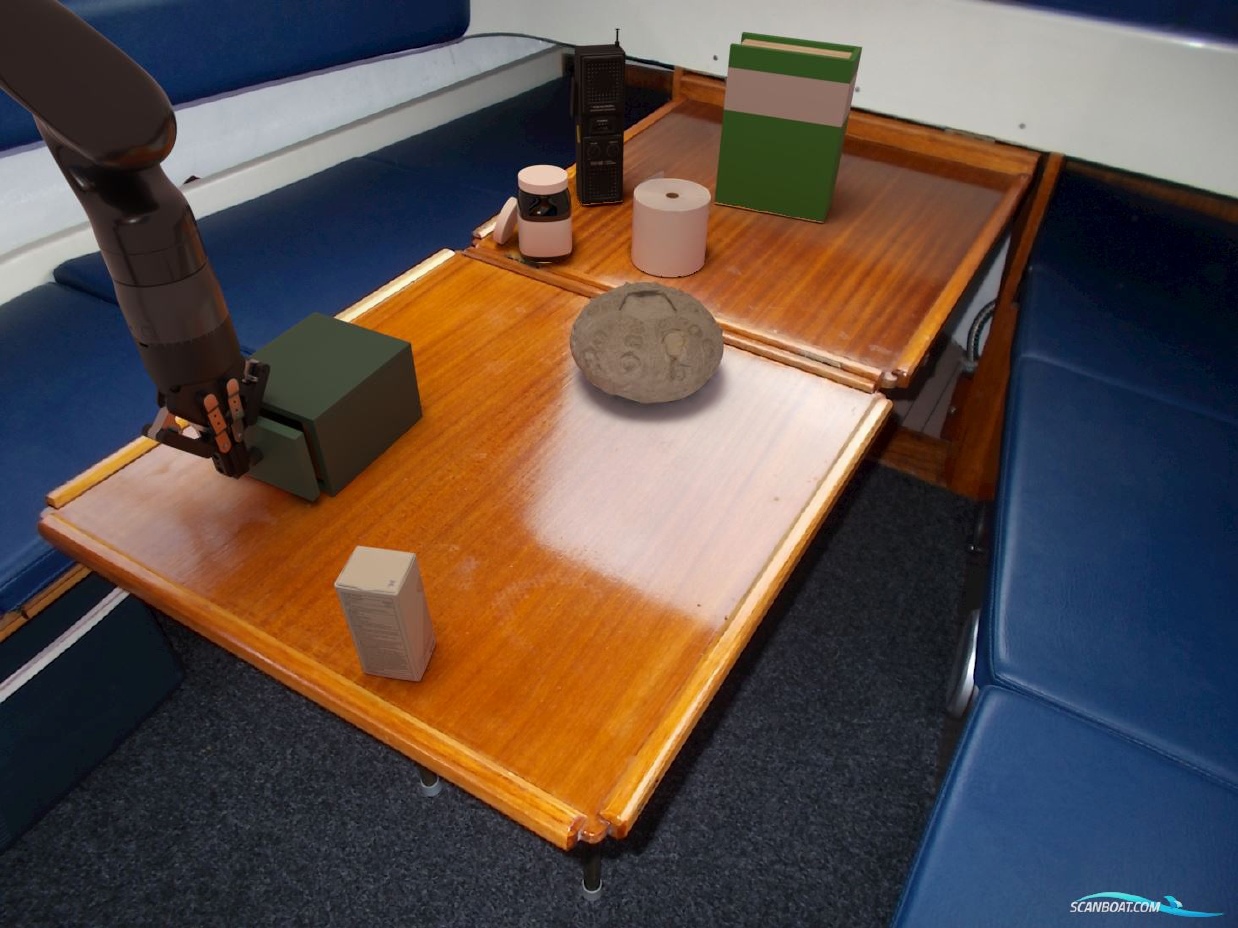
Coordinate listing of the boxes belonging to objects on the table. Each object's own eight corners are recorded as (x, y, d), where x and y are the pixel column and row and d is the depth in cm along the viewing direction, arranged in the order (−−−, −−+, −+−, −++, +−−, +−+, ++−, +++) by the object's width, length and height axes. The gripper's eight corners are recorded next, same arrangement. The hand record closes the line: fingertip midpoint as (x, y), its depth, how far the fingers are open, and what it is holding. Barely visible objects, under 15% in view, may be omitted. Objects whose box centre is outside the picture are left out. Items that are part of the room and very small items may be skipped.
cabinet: (334, 497, 86) (313, 420, 79) (237, 457, 90) (210, 381, 84) (423, 416, 96) (411, 342, 89) (332, 384, 100) (314, 311, 94)
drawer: (304, 509, 83) (284, 447, 78) (214, 471, 87) (190, 410, 82) (398, 424, 93) (387, 364, 88) (315, 394, 97) (299, 335, 92)
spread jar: (575, 268, 122) (574, 189, 114) (495, 272, 121) (489, 192, 113) (567, 229, 131) (566, 154, 123) (492, 232, 130) (486, 156, 122)
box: (438, 641, 73) (420, 552, 66) (419, 684, 70) (400, 595, 62) (379, 632, 74) (355, 542, 66) (358, 673, 70) (331, 584, 63)
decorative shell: (750, 379, 103) (761, 306, 96) (646, 444, 93) (650, 368, 87) (643, 320, 112) (646, 250, 105) (539, 374, 103) (535, 300, 96)
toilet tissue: (666, 286, 119) (670, 218, 112) (609, 253, 125) (610, 187, 119) (719, 263, 124) (727, 196, 118) (663, 233, 131) (667, 168, 124)
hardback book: (714, 204, 139) (730, 45, 123) (726, 187, 144) (743, 31, 128) (822, 224, 134) (854, 61, 119) (831, 205, 140) (862, 47, 124)
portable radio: (576, 209, 136) (574, 39, 120) (568, 193, 141) (566, 27, 124) (624, 204, 138) (629, 36, 121) (615, 189, 142) (618, 25, 126)
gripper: (206, 268, 76) (257, 422, 87) (75, 342, 67) (151, 502, 78) (272, 289, 73) (315, 445, 85) (144, 368, 64) (212, 530, 76)
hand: (236, 472), depth 81 cm, fingers closed
